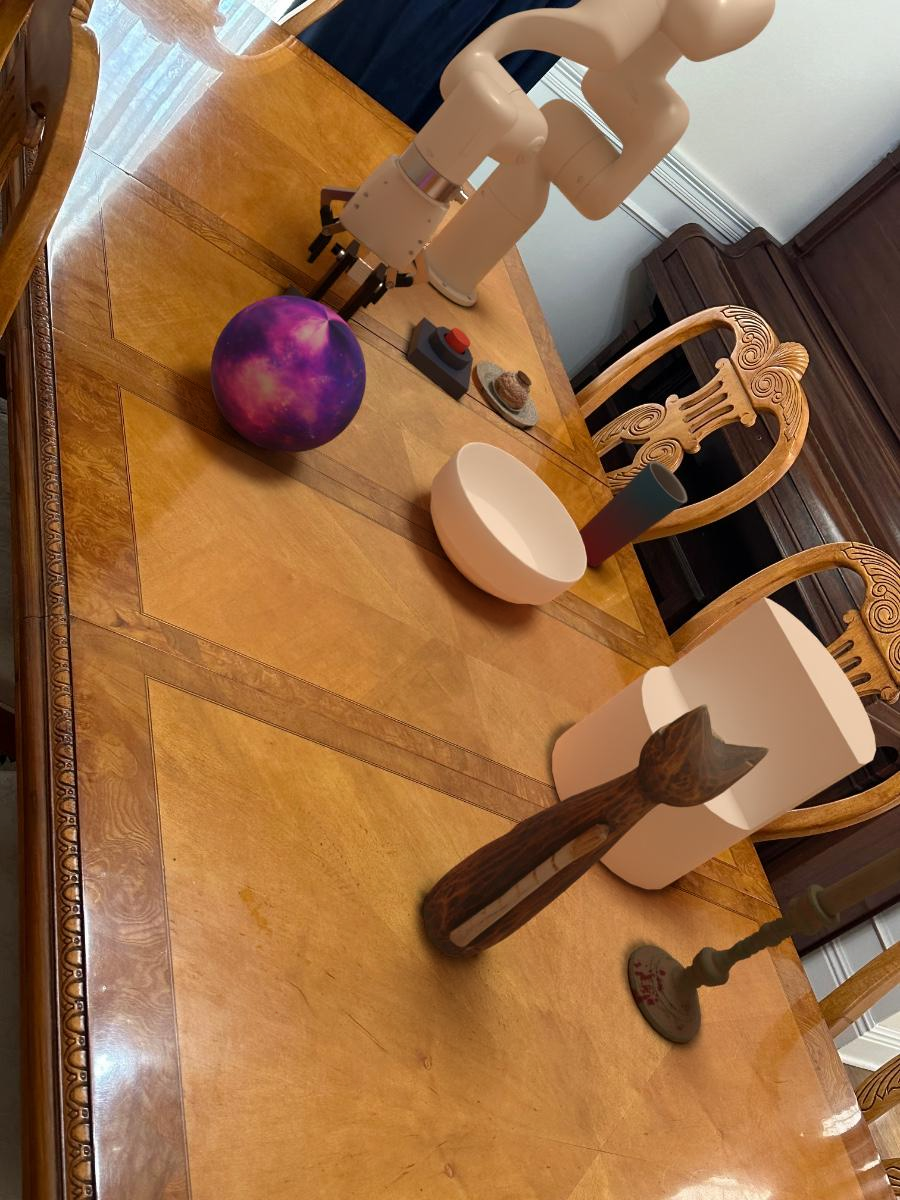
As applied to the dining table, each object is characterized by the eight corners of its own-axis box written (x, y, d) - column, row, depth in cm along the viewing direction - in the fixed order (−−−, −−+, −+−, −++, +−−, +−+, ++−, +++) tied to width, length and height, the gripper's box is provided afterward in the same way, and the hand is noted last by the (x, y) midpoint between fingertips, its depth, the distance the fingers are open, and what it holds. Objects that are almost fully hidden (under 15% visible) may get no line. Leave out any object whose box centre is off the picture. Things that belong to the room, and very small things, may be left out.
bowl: (553, 586, 142) (603, 544, 138) (508, 653, 125) (562, 608, 121) (443, 468, 141) (489, 423, 137) (381, 520, 124) (432, 470, 120)
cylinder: (640, 744, 133) (816, 620, 121) (702, 896, 122) (903, 777, 110) (530, 715, 121) (714, 574, 108) (588, 881, 110) (800, 746, 98)
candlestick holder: (620, 934, 108) (890, 772, 93) (685, 963, 113) (952, 813, 98) (637, 1028, 102) (930, 870, 87) (705, 1055, 106) (995, 908, 91)
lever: (327, 253, 143) (339, 238, 142) (365, 285, 145) (377, 270, 144) (332, 263, 132) (345, 246, 131) (373, 297, 134) (386, 281, 133)
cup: (602, 552, 158) (685, 483, 151) (603, 581, 153) (689, 511, 145) (566, 523, 156) (648, 451, 149) (566, 551, 151) (651, 479, 143)
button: (445, 332, 157) (453, 323, 157) (462, 347, 159) (471, 339, 158) (443, 342, 155) (451, 333, 154) (461, 358, 156) (469, 349, 155)
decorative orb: (156, 360, 114) (242, 248, 106) (265, 376, 126) (349, 277, 118) (223, 480, 109) (318, 372, 102) (329, 485, 121) (421, 389, 114)
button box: (414, 327, 161) (432, 307, 159) (463, 368, 164) (482, 349, 162) (406, 358, 153) (425, 337, 151) (457, 401, 156) (477, 381, 154)
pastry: (462, 378, 162) (484, 355, 159) (485, 358, 172) (506, 336, 170) (522, 440, 163) (544, 418, 160) (541, 416, 173) (563, 395, 171)
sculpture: (500, 930, 97) (784, 745, 82) (452, 985, 90) (756, 792, 75) (450, 864, 98) (723, 669, 83) (398, 913, 90) (688, 708, 76)
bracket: (285, 290, 141) (344, 218, 135) (343, 337, 144) (403, 269, 138) (268, 324, 133) (330, 249, 127) (330, 373, 136) (393, 302, 130)
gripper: (486, 213, 142) (395, 314, 150) (374, 112, 136) (286, 224, 144) (482, 234, 136) (388, 338, 144) (365, 130, 130) (274, 245, 138)
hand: (338, 280), depth 144 cm, fingers open, 7 cm apart
